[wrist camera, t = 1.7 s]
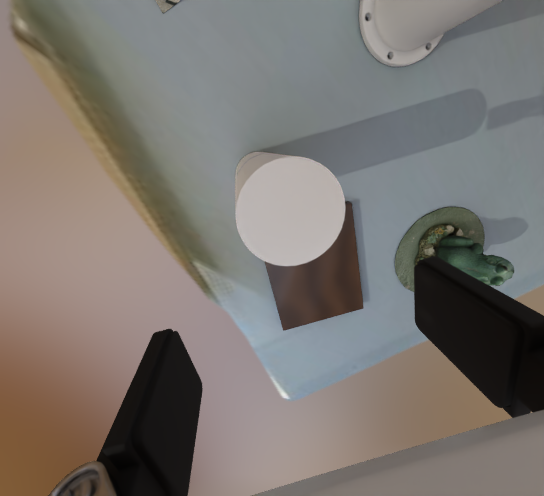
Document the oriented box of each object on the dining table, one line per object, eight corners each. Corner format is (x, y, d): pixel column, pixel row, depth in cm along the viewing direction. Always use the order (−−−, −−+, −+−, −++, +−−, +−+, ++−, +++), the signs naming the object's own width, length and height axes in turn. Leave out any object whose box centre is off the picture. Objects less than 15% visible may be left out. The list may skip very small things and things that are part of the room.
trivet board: (348, 201, 43) (351, 203, 42) (360, 304, 51) (363, 308, 50) (255, 225, 42) (255, 228, 41) (282, 325, 50) (283, 330, 49)
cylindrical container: (290, 172, 40) (367, 204, 17) (262, 208, 41) (297, 284, 18) (254, 141, 38) (284, 129, 15) (225, 180, 39) (212, 226, 16)
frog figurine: (465, 293, 53) (523, 329, 43) (385, 294, 51) (425, 333, 40) (497, 208, 47) (574, 226, 36) (407, 205, 45) (462, 223, 34)
